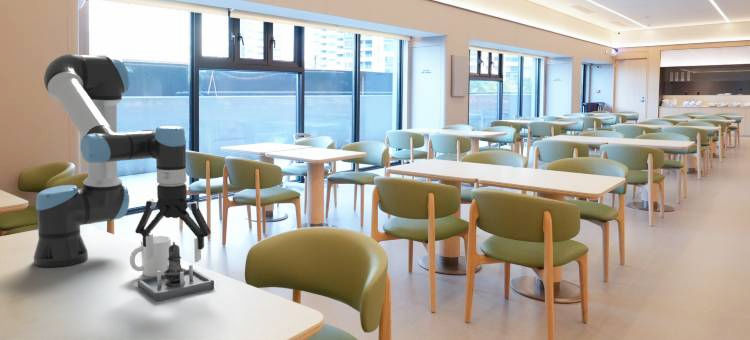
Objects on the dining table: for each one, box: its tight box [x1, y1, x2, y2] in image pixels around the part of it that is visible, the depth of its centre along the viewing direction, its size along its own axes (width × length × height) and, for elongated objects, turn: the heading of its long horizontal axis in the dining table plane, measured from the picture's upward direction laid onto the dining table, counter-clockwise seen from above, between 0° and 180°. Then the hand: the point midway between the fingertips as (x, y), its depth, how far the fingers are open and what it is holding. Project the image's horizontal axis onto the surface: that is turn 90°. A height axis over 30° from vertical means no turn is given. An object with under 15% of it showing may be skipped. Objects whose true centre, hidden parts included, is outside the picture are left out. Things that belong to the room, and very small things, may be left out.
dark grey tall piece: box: [164, 241, 187, 287], centre depth 162 cm, size 6×6×12 cm
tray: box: [136, 264, 215, 303], centre depth 163 cm, size 14×16×6 cm
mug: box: [129, 235, 172, 278], centre depth 174 cm, size 12×8×10 cm
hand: (173, 259), depth 163 cm, fingers open, 13 cm apart
